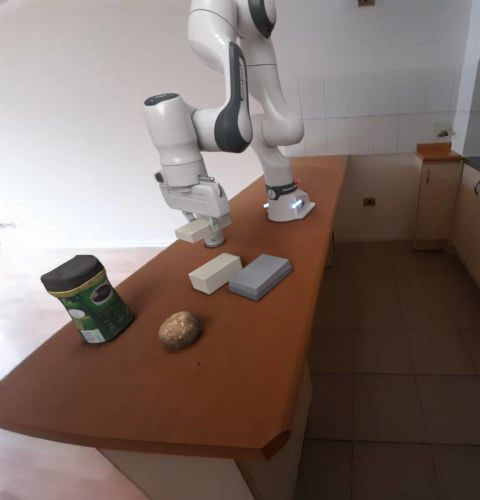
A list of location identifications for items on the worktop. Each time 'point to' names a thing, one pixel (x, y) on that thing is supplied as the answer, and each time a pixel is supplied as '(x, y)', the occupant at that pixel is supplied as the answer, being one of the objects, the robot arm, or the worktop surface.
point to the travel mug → (213, 237)
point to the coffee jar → (88, 298)
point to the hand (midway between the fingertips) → (204, 227)
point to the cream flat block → (200, 228)
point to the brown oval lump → (179, 330)
